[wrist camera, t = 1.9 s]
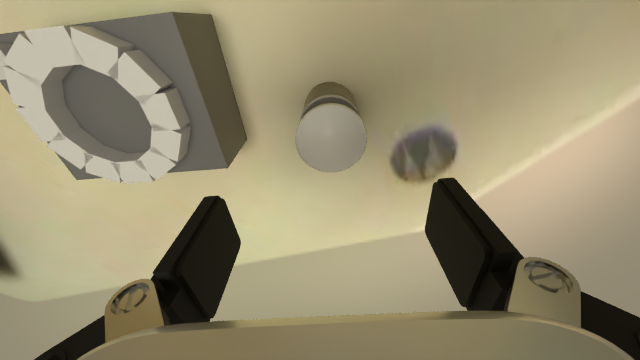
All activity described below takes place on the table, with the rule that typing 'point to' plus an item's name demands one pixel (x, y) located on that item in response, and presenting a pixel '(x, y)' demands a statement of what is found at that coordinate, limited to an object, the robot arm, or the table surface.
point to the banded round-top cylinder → (330, 129)
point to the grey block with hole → (126, 95)
